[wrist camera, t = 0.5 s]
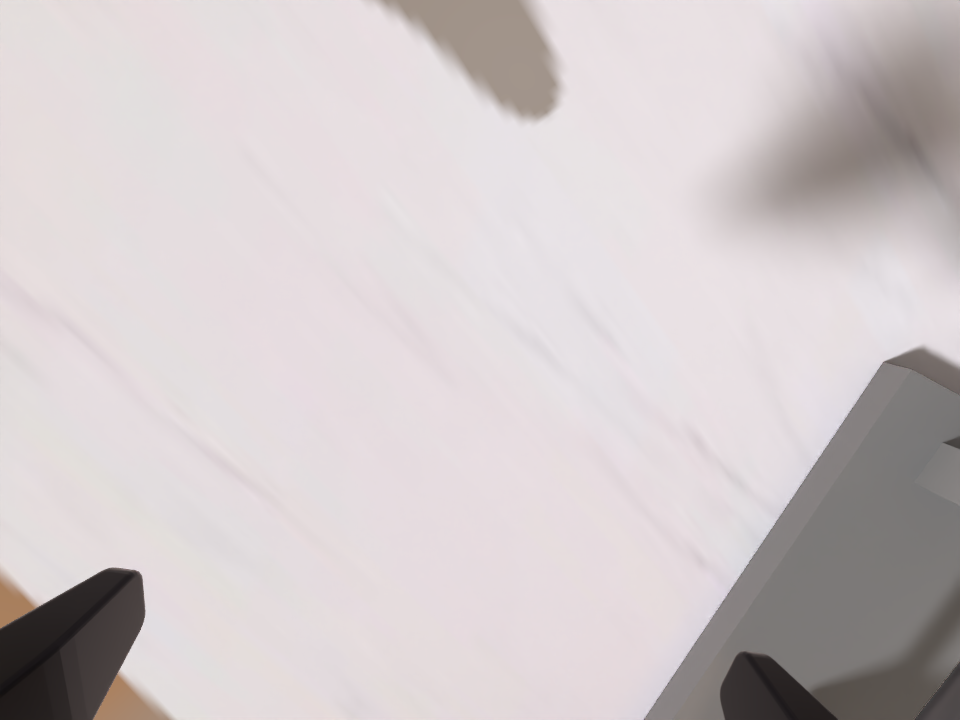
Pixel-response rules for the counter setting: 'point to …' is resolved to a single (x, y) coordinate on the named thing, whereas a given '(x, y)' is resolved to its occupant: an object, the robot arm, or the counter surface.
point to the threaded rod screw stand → (854, 571)
